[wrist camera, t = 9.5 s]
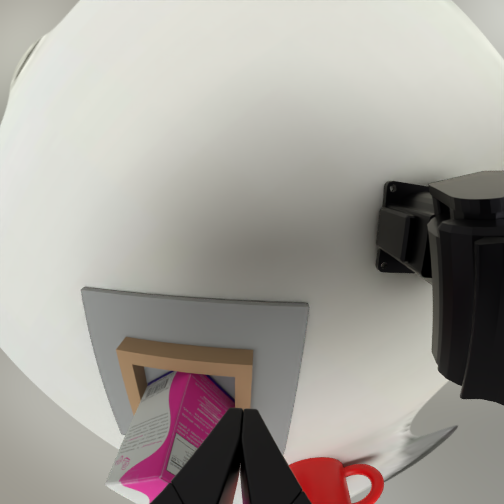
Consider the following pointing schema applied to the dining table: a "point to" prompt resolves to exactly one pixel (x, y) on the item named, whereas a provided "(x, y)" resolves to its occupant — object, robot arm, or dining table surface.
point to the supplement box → (166, 433)
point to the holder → (198, 349)
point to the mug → (334, 480)
